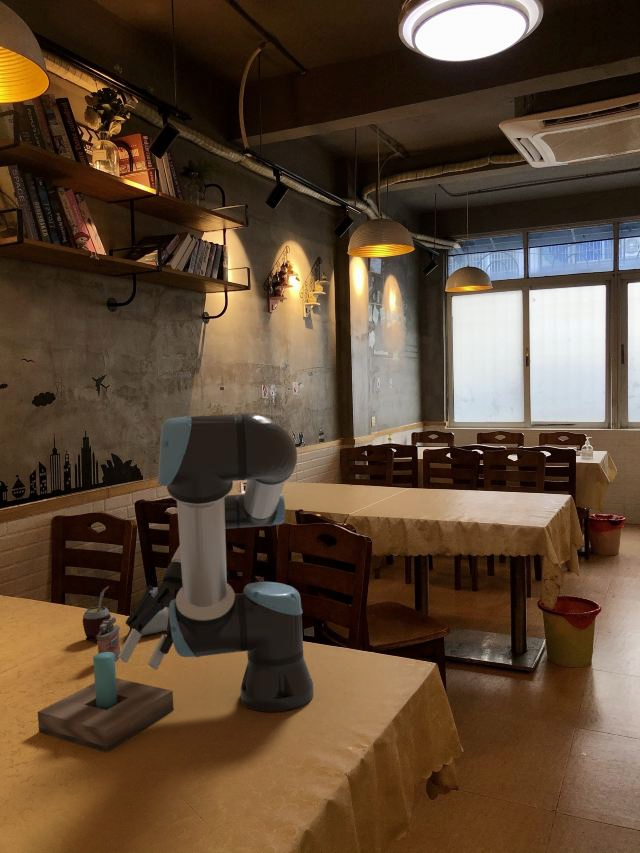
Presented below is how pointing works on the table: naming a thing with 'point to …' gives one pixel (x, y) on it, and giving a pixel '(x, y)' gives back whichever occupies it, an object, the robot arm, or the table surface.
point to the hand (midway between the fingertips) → (137, 663)
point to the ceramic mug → (157, 623)
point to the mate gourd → (95, 619)
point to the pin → (105, 680)
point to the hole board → (105, 715)
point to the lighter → (109, 638)
